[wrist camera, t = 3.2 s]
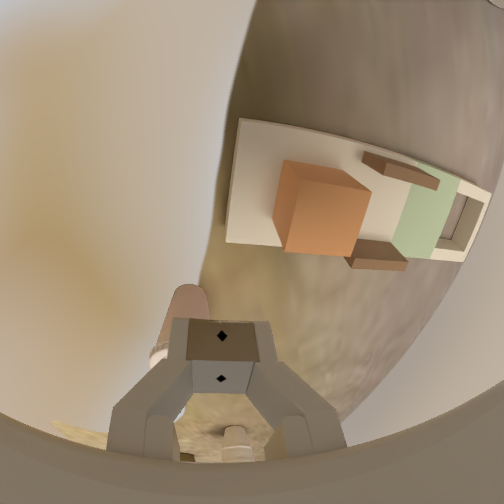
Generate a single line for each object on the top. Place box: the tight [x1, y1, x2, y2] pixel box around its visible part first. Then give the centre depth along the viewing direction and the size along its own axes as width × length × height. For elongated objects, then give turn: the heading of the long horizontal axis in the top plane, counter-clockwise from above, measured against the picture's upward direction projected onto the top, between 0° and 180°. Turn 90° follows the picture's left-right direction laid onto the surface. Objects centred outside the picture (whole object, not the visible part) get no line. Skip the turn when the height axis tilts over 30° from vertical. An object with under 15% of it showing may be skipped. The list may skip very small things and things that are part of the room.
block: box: [272, 160, 372, 257], centre depth 19 cm, size 5×5×5 cm
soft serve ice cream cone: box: [221, 426, 255, 463], centre depth 45 cm, size 8×8×16 cm
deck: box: [225, 118, 491, 271], centre depth 23 cm, size 10×30×6 cm, turn 81°
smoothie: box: [149, 284, 210, 369], centre depth 24 cm, size 6×6×14 cm
